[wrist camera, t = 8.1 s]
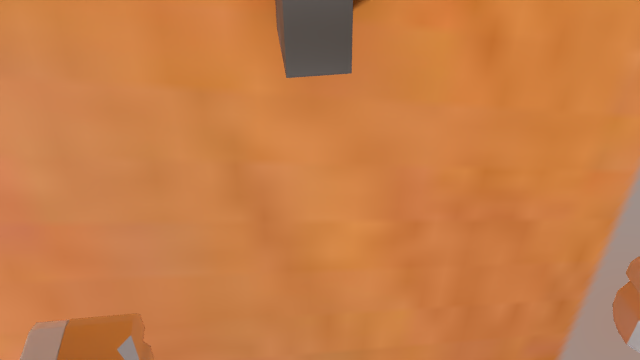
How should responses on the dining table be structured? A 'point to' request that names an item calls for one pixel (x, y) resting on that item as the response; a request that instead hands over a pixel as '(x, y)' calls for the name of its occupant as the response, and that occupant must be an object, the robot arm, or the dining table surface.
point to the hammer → (315, 36)
